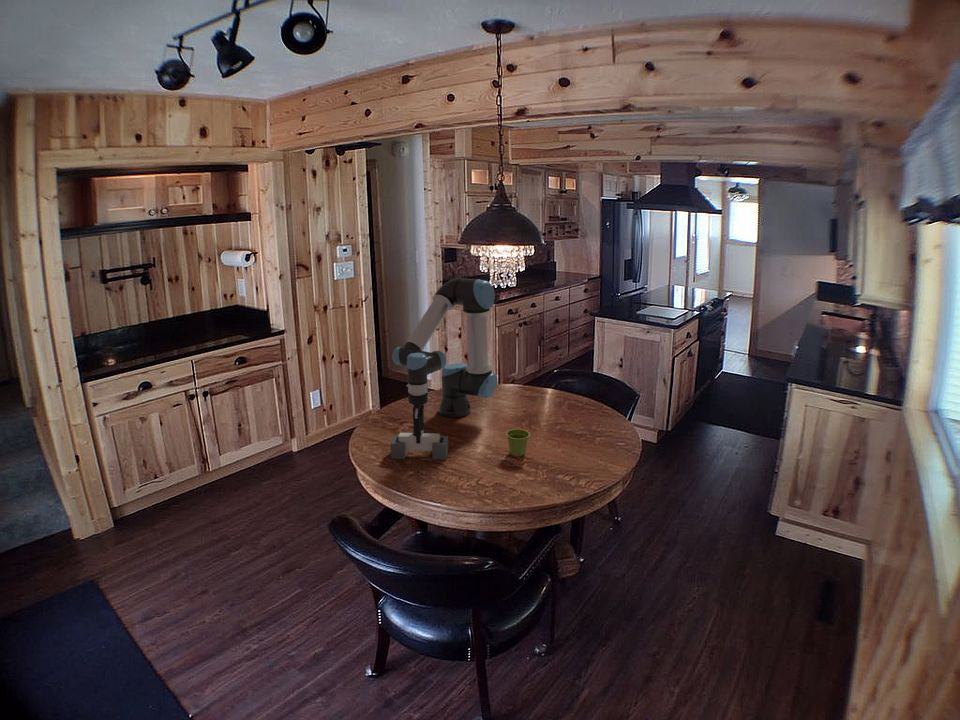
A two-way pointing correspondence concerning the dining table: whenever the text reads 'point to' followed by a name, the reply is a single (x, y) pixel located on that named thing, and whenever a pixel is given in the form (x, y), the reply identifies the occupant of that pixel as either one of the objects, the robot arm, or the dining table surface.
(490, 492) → the dining table surface
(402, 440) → the light grey long block
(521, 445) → the plant pot
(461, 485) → the dining table surface
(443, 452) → the endcap rack
